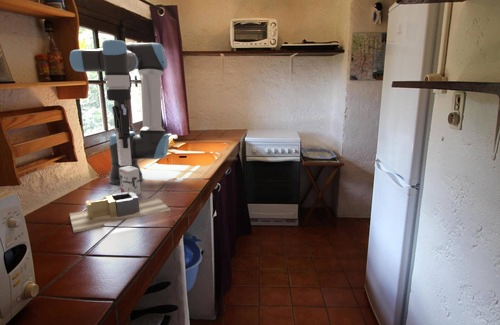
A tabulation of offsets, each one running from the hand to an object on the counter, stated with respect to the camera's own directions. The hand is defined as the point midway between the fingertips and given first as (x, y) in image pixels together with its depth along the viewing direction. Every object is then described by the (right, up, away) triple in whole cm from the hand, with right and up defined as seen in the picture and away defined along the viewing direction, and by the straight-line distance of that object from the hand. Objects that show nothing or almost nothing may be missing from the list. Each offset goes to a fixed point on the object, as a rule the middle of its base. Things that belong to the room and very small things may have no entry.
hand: (124, 155), depth 120 cm
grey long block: (0, -3, +1) cm, 3 cm away
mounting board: (-1, -21, +3) cm, 21 cm away
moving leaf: (-8, -21, -1) cm, 22 cm away
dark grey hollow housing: (-1, -20, +4) cm, 20 cm away
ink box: (-6, -16, +23) cm, 29 cm away
